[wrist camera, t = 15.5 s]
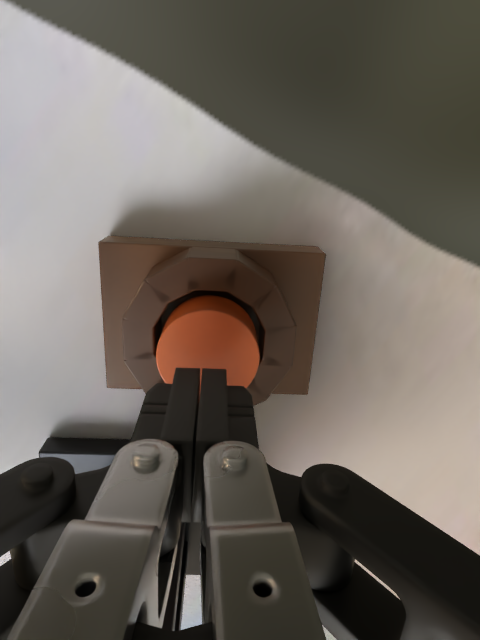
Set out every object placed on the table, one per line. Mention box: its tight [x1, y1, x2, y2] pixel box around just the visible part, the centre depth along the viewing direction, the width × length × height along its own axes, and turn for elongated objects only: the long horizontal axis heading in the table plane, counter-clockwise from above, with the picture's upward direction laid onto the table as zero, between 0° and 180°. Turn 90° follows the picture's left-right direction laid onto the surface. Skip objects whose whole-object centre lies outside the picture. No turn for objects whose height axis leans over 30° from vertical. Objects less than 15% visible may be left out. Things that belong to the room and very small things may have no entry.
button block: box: [99, 236, 326, 406], centre depth 17 cm, size 9×6×4 cm
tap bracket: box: [39, 438, 201, 631], centre depth 16 cm, size 10×8×14 cm
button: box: [156, 295, 260, 400], centre depth 15 cm, size 4×4×2 cm
